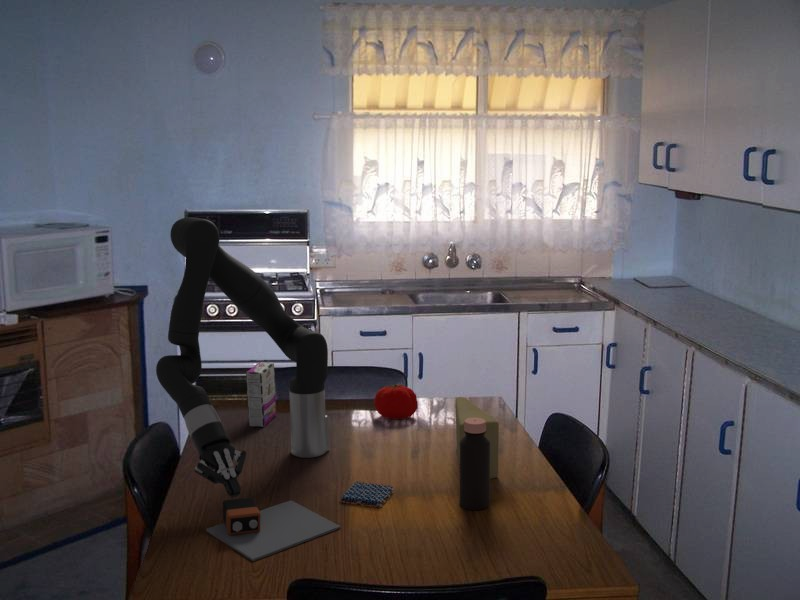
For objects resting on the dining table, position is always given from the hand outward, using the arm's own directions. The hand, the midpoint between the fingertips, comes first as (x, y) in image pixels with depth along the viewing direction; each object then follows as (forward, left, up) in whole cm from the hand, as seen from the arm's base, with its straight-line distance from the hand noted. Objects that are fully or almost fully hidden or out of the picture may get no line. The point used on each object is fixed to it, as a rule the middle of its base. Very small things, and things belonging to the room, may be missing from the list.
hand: (236, 495), depth 200 cm
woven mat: (-28, +11, -6) cm, 31 cm away
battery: (0, +1, -2) cm, 3 cm away
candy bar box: (-40, -52, -5) cm, 66 cm away
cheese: (-60, +13, -5) cm, 62 cm away
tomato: (-71, -28, -5) cm, 76 cm away
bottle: (-43, +31, -5) cm, 54 cm away
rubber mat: (-2, +11, -5) cm, 12 cm away
